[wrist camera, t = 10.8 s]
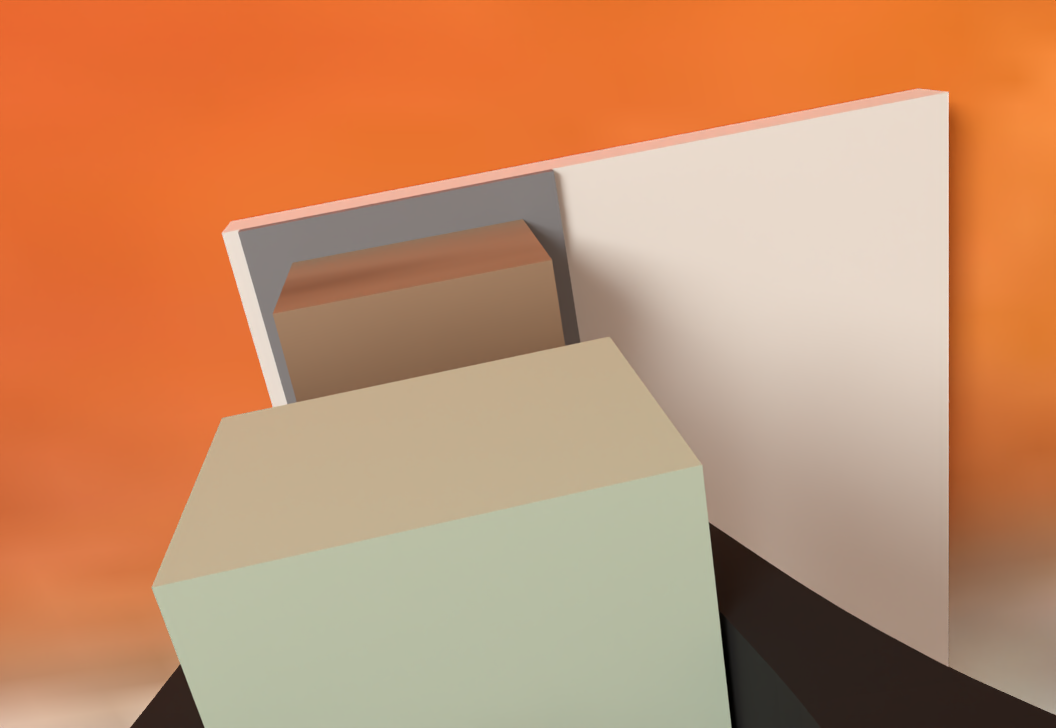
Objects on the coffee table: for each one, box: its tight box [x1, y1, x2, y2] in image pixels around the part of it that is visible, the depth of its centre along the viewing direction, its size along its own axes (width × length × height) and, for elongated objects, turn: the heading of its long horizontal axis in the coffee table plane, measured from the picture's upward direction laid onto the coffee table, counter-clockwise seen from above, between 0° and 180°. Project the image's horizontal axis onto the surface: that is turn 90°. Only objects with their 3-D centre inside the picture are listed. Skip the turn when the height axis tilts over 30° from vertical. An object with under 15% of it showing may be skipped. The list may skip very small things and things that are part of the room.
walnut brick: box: [273, 219, 565, 402], centre depth 15 cm, size 6×4×3 cm
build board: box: [222, 88, 949, 667], centre depth 20 cm, size 18×13×1 cm
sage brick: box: [152, 337, 731, 728], centre depth 9 cm, size 6×4×3 cm
